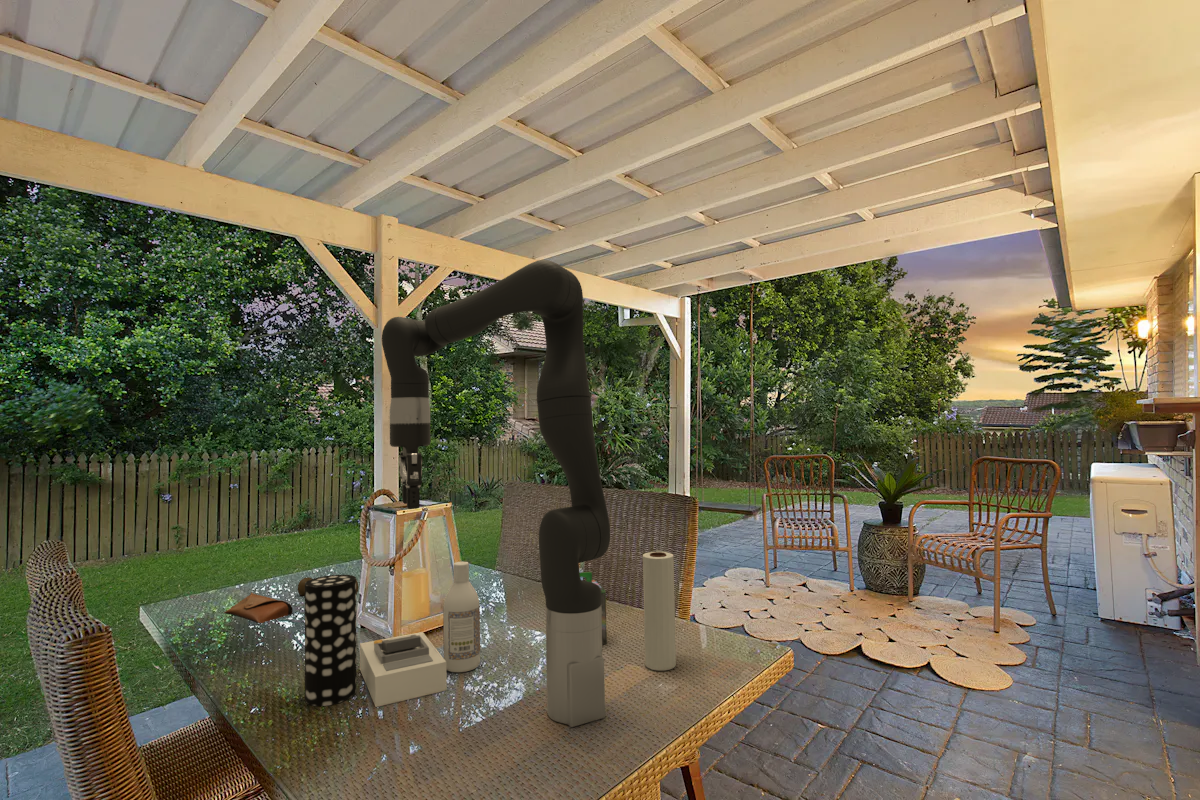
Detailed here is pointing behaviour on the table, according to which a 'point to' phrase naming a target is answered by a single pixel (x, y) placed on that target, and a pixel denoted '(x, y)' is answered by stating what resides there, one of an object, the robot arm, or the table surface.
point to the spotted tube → (330, 639)
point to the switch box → (402, 671)
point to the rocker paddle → (401, 643)
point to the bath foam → (461, 623)
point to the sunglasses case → (260, 608)
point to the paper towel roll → (659, 610)
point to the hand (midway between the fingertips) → (410, 505)
